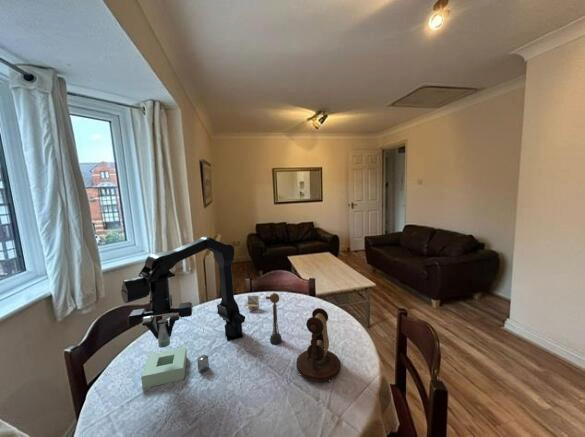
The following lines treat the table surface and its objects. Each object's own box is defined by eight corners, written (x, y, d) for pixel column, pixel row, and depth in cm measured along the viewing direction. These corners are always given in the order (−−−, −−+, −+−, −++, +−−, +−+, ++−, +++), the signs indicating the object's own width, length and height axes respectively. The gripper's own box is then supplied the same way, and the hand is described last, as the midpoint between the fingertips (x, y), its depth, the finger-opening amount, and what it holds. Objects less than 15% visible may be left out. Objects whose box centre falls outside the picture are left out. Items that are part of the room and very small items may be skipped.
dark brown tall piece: (335, 390, 79) (335, 327, 77) (290, 379, 84) (288, 319, 82) (343, 360, 93) (343, 305, 91) (304, 352, 98) (303, 300, 96)
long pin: (170, 340, 90) (169, 318, 89) (169, 346, 87) (167, 323, 86) (159, 342, 89) (157, 320, 88) (157, 348, 86) (155, 325, 85)
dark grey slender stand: (265, 343, 104) (264, 295, 102) (269, 337, 108) (267, 290, 106) (280, 345, 103) (278, 296, 100) (283, 338, 107) (281, 291, 105)
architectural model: (257, 312, 131) (257, 298, 130) (244, 312, 132) (243, 298, 131) (259, 309, 134) (258, 295, 134) (246, 309, 135) (245, 295, 134)
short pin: (208, 364, 92) (208, 354, 92) (208, 371, 89) (208, 360, 88) (198, 367, 91) (197, 356, 91) (197, 373, 88) (197, 362, 87)
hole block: (186, 357, 97) (186, 346, 96) (183, 379, 85) (183, 367, 85) (150, 364, 93) (149, 353, 93) (142, 388, 82) (141, 376, 81)
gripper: (191, 280, 97) (194, 321, 98) (134, 287, 91) (138, 330, 93) (189, 291, 86) (193, 336, 88) (124, 300, 80) (129, 348, 82)
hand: (163, 337), depth 88 cm, fingers closed on long pin, 3 cm apart
